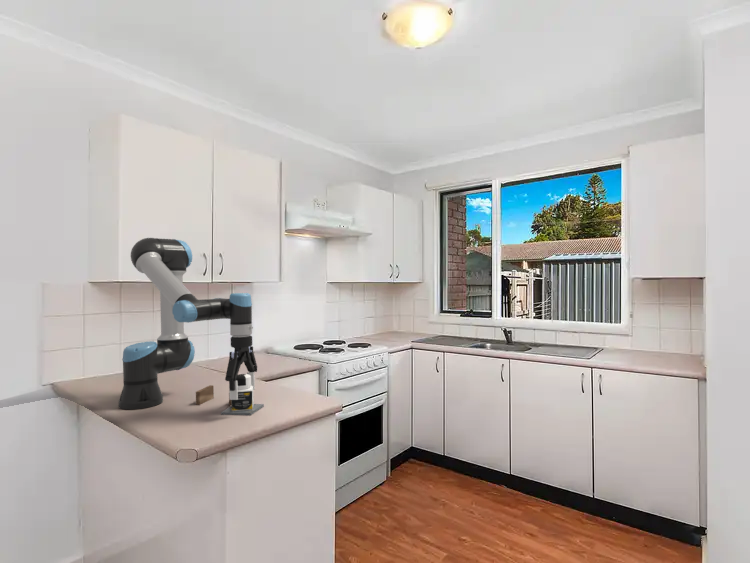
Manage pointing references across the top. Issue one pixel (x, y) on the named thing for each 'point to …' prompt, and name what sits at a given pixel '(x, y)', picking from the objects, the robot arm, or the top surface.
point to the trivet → (244, 412)
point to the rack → (206, 395)
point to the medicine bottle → (243, 394)
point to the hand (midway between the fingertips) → (242, 394)
